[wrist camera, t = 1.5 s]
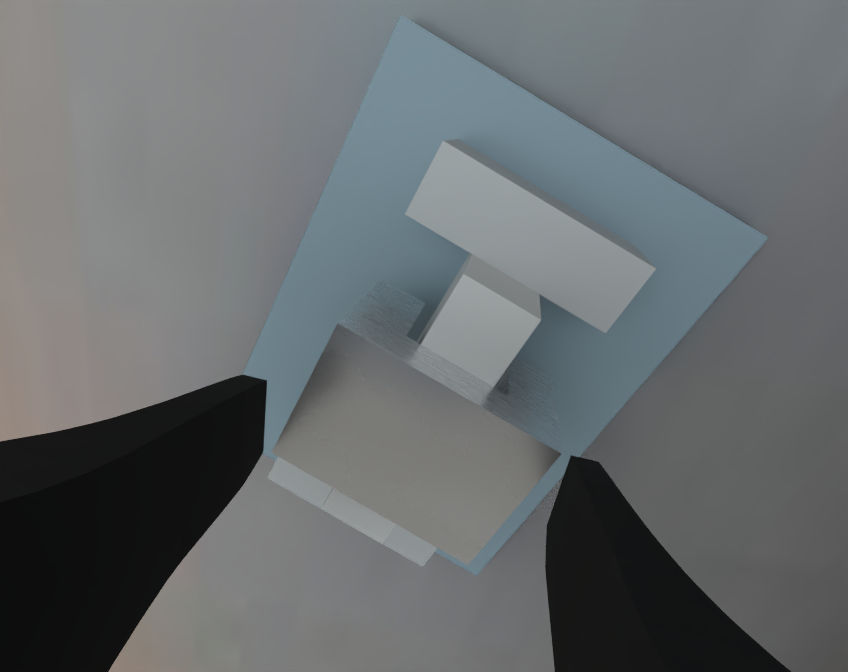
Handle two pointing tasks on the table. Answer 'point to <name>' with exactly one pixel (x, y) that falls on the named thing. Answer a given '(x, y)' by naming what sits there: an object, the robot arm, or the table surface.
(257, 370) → the bench vise
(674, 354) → the table surface
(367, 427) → the grey notched block
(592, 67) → the table surface
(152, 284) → the table surface
